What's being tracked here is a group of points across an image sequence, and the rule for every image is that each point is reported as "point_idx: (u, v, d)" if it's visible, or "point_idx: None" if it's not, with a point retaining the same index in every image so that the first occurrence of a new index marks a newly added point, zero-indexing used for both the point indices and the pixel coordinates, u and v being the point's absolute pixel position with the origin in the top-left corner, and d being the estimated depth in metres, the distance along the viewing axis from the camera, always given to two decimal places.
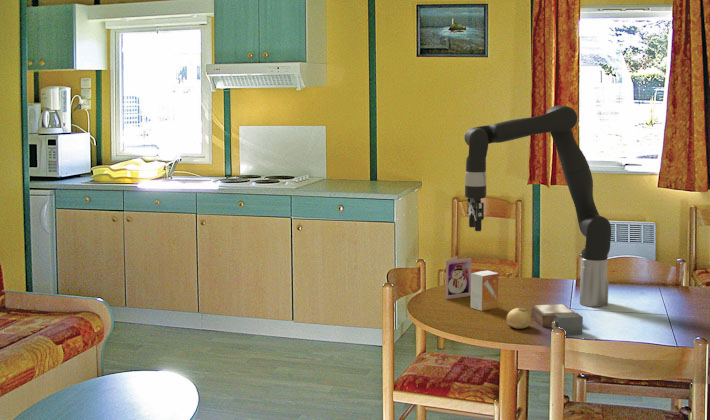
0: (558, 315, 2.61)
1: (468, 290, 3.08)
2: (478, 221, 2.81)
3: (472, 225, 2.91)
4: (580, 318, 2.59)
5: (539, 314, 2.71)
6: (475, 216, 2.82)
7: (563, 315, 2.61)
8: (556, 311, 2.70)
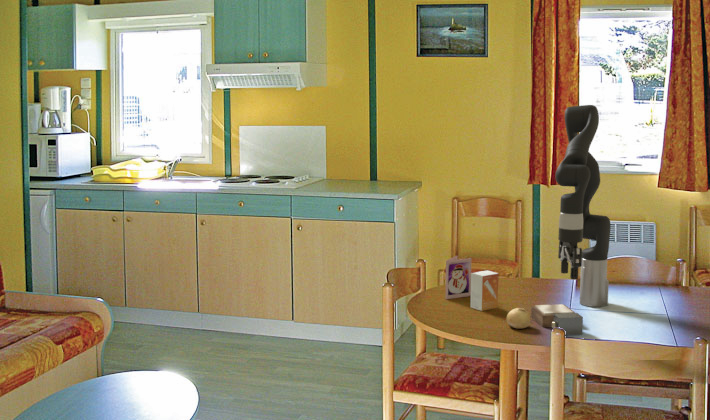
0: (558, 315, 2.61)
1: (468, 290, 3.08)
2: (575, 268, 2.53)
3: (564, 271, 2.63)
4: (580, 318, 2.59)
5: (539, 314, 2.71)
6: (571, 262, 2.53)
7: (563, 315, 2.61)
8: (556, 311, 2.70)
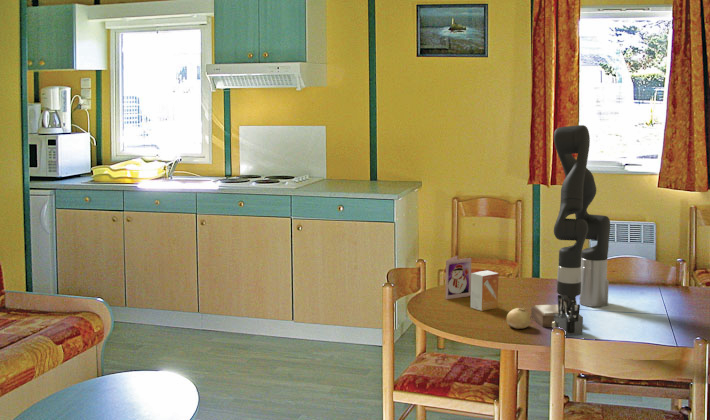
0: (558, 315, 2.61)
1: (468, 290, 3.08)
2: (571, 322, 2.57)
3: None
4: (580, 318, 2.59)
5: (539, 314, 2.71)
6: (568, 317, 2.57)
7: (563, 315, 2.61)
8: (556, 311, 2.70)
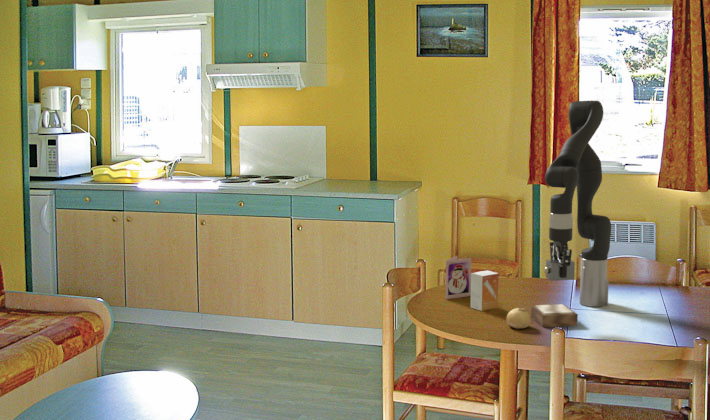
0: (551, 261, 2.69)
1: (468, 290, 3.08)
2: (564, 267, 2.65)
3: None
4: (572, 263, 2.67)
5: (539, 314, 2.71)
6: (560, 262, 2.65)
7: (555, 261, 2.69)
8: (556, 311, 2.70)
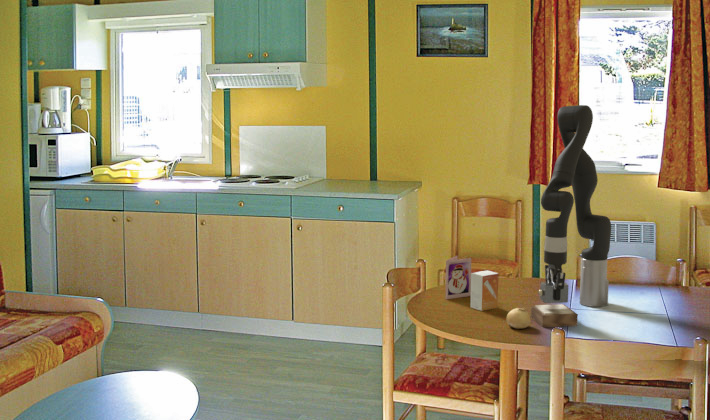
0: (545, 283, 2.73)
1: (468, 290, 3.08)
2: (557, 290, 2.69)
3: None
4: (566, 286, 2.70)
5: (539, 314, 2.71)
6: (554, 285, 2.69)
7: (550, 283, 2.72)
8: (556, 311, 2.70)
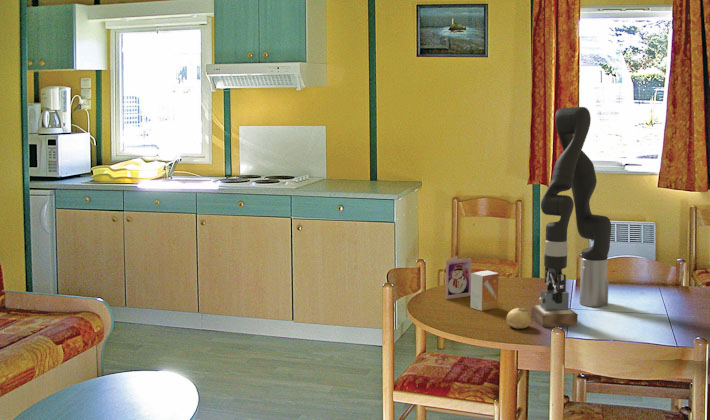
0: (545, 291, 2.73)
1: (468, 290, 3.08)
2: (559, 293, 2.68)
3: None
4: (566, 294, 2.71)
5: (539, 314, 2.71)
6: (556, 288, 2.68)
7: (550, 291, 2.73)
8: (556, 311, 2.70)
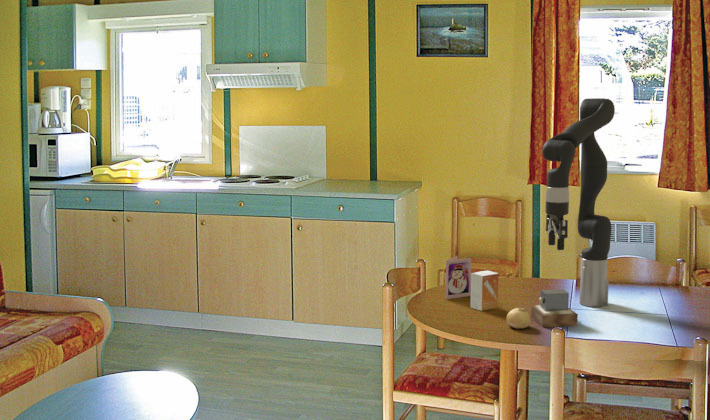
0: (545, 291, 2.73)
1: (468, 290, 3.08)
2: (561, 239, 2.65)
3: (552, 243, 2.74)
4: (566, 294, 2.71)
5: (539, 314, 2.71)
6: (558, 234, 2.65)
7: (550, 291, 2.73)
8: (556, 311, 2.70)
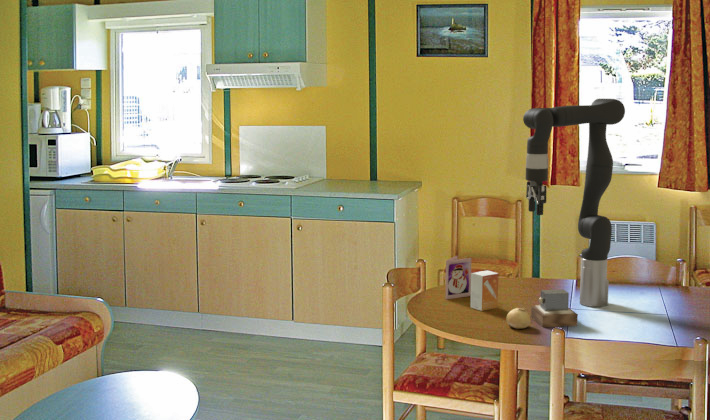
0: (545, 291, 2.73)
1: (468, 290, 3.08)
2: (540, 204, 2.73)
3: (532, 209, 2.82)
4: (566, 294, 2.71)
5: (539, 314, 2.71)
6: (537, 199, 2.73)
7: (550, 291, 2.73)
8: (556, 311, 2.70)
